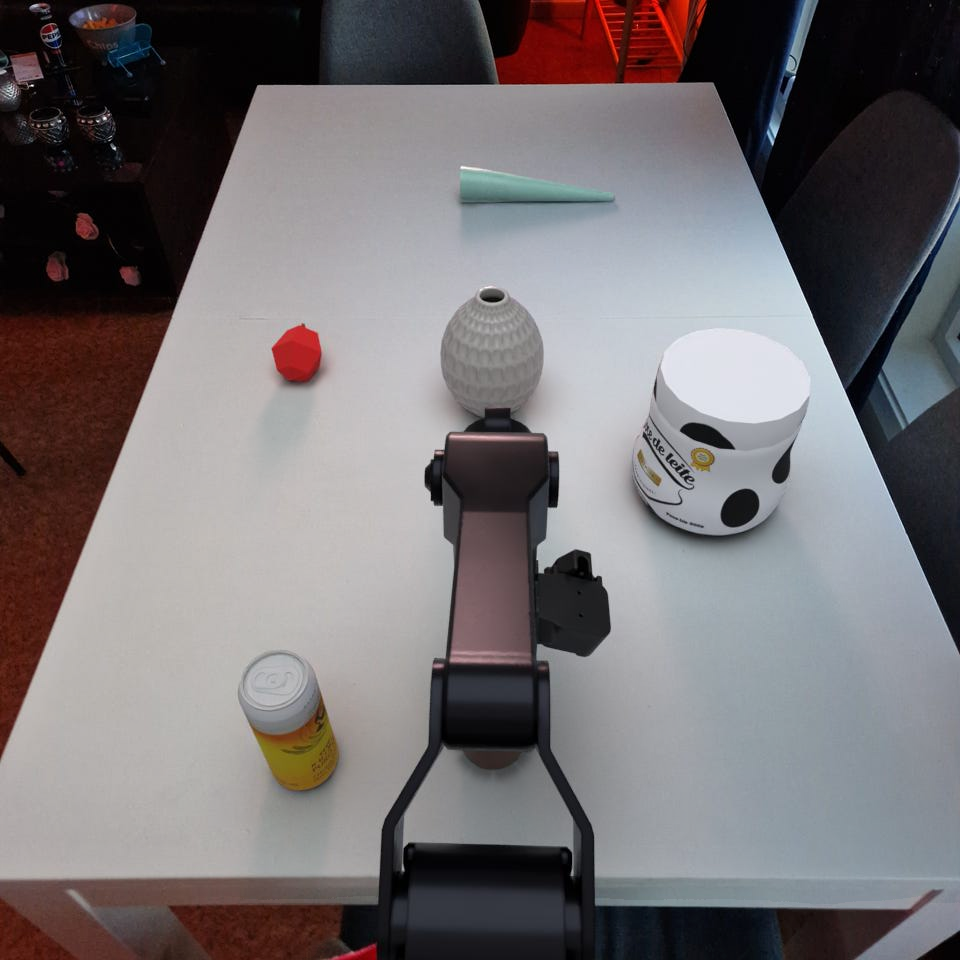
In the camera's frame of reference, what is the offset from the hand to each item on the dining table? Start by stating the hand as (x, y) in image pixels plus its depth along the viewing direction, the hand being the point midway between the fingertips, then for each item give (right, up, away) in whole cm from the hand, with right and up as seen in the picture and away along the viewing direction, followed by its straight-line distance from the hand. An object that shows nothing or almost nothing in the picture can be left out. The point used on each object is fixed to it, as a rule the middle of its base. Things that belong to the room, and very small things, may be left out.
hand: (493, 683), depth 69 cm
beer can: (-17, -9, +6) cm, 20 cm away
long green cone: (+9, +66, +74) cm, 100 cm away
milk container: (+25, +16, +28) cm, 41 cm away
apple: (-25, +32, +43) cm, 60 cm away
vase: (0, +27, +39) cm, 47 cm away
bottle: (0, -7, +7) cm, 10 cm away
